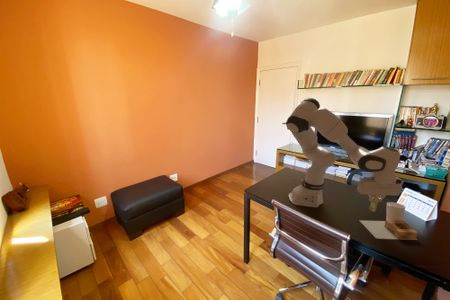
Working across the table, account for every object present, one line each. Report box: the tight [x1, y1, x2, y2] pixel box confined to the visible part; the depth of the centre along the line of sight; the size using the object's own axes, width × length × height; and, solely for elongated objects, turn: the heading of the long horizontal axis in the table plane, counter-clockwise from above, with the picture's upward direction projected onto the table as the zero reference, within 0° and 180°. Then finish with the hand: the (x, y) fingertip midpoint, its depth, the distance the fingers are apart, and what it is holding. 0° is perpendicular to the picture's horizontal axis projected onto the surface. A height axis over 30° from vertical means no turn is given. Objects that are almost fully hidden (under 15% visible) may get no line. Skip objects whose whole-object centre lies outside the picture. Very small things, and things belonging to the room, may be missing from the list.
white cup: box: [385, 201, 406, 221], centre depth 107 cm, size 8×8×10 cm
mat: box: [359, 219, 418, 241], centre depth 102 cm, size 20×14×1 cm
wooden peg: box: [368, 195, 380, 212], centre depth 101 cm, size 3×3×12 cm
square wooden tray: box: [384, 220, 419, 240], centre depth 99 cm, size 9×9×4 cm
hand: (374, 201), depth 101 cm, fingers closed on wooden peg, 3 cm apart
